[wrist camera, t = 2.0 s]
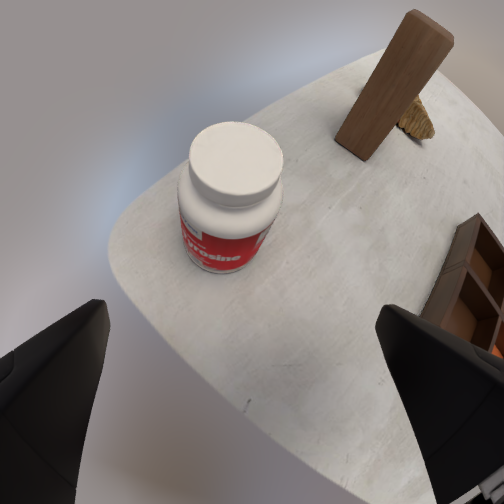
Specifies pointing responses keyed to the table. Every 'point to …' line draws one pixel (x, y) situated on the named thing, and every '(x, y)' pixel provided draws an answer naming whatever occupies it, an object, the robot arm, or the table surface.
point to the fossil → (417, 121)
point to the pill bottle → (229, 195)
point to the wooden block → (395, 82)
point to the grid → (471, 288)
